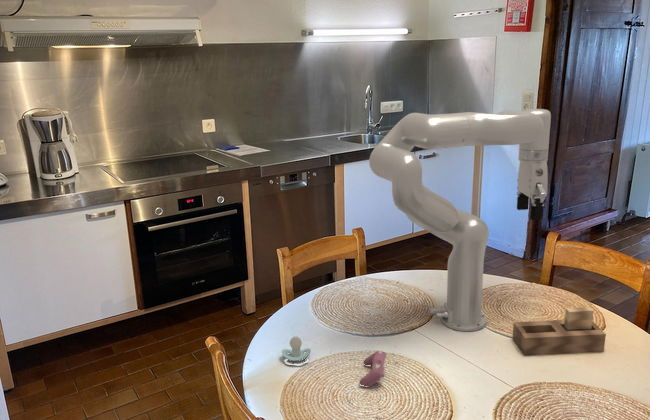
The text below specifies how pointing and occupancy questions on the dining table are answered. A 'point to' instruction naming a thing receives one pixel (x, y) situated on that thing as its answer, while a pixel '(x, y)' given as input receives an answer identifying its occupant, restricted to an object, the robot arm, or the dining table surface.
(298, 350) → the pacifier
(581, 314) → the rail end
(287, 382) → the dining table surface
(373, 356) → the purple curved piece
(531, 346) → the hollow wooden brick
